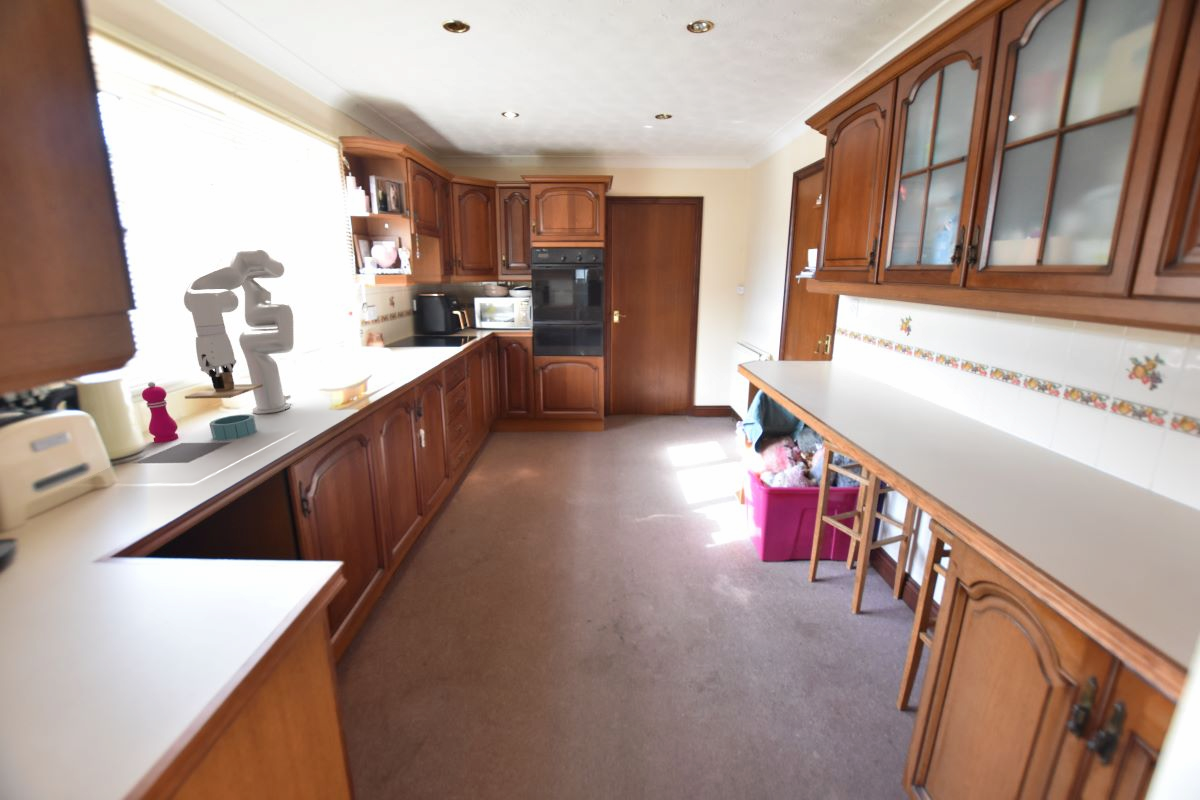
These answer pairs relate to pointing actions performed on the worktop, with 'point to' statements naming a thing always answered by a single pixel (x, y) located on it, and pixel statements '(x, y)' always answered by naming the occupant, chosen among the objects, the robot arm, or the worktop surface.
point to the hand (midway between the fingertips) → (224, 386)
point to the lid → (225, 389)
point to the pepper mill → (159, 415)
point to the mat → (183, 453)
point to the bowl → (233, 427)
